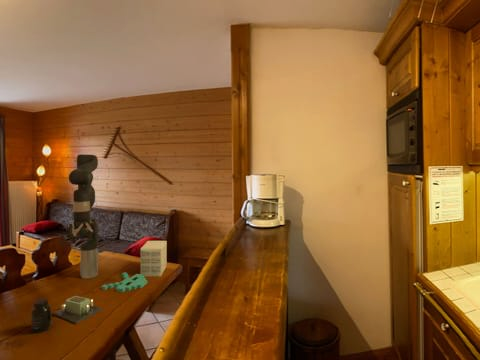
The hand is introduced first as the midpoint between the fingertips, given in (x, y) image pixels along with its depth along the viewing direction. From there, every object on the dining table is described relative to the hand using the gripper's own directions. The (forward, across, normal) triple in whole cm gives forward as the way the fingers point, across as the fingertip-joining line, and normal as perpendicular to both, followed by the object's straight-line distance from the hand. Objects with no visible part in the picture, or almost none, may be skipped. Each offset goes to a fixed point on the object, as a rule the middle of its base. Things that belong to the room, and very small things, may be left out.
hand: (81, 241), depth 138 cm
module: (+29, +10, +11) cm, 32 cm away
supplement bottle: (+30, +25, +9) cm, 40 cm away
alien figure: (+31, -23, +8) cm, 39 cm away
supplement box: (+30, -44, +8) cm, 54 cm away
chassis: (+30, +10, +11) cm, 34 cm away
